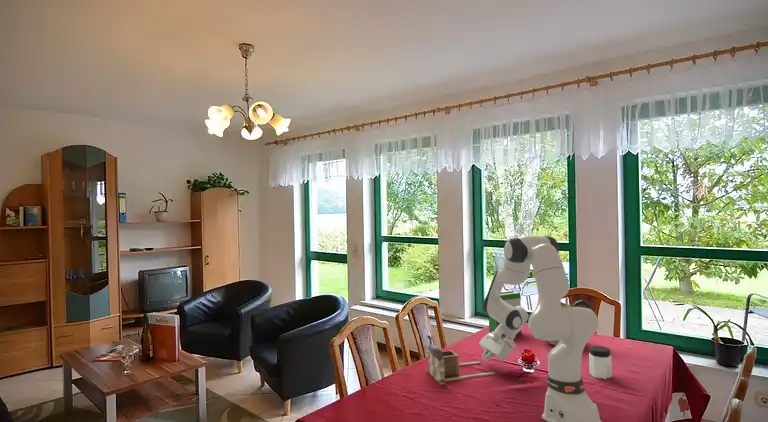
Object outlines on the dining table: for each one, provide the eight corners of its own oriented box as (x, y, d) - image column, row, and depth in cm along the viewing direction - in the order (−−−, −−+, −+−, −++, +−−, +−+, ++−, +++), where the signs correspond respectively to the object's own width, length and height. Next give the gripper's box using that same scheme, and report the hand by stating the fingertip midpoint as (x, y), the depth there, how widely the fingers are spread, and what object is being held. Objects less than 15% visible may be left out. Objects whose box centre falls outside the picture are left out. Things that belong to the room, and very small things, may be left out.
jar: (603, 380, 192) (603, 353, 192) (586, 375, 199) (585, 348, 199) (615, 375, 197) (614, 348, 197) (597, 370, 204) (597, 344, 204)
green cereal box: (513, 330, 273) (512, 291, 273) (521, 333, 266) (520, 293, 266) (489, 333, 266) (488, 293, 266) (496, 337, 260) (495, 296, 259)
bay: (495, 377, 199) (494, 340, 199) (438, 384, 193) (437, 346, 193) (478, 364, 216) (477, 330, 216) (425, 370, 209) (424, 335, 209)
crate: (458, 375, 199) (458, 355, 199) (442, 377, 197) (441, 357, 197) (452, 369, 207) (451, 350, 207) (435, 371, 205) (435, 351, 205)
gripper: (487, 326, 218) (469, 348, 216) (508, 338, 198) (489, 362, 196) (496, 335, 219) (478, 356, 217) (518, 347, 199) (498, 371, 197)
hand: (483, 359), depth 206 cm, fingers closed
